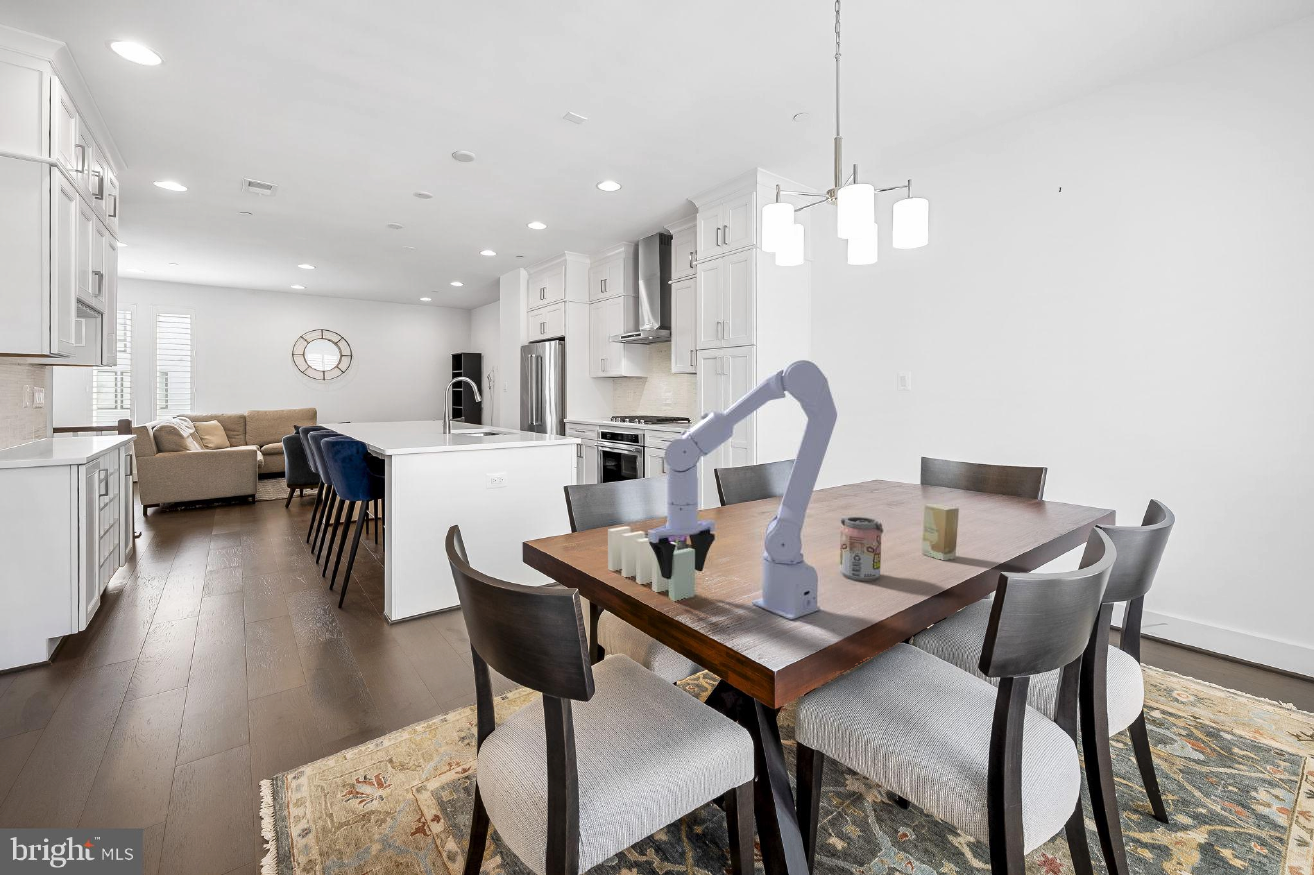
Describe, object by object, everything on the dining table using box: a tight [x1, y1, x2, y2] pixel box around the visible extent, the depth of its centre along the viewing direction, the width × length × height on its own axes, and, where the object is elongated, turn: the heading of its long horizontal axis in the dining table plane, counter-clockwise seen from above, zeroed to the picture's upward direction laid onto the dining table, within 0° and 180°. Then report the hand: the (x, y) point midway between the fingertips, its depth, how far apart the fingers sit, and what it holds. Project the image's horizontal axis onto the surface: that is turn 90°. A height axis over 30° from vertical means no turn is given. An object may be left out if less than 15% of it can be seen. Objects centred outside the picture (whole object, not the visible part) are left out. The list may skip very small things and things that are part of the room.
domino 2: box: [621, 530, 646, 578], centre depth 119 cm, size 2×5×9 cm, turn 126°
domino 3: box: [635, 538, 652, 585], centre depth 114 cm, size 2×5×9 cm, turn 126°
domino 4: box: [651, 542, 677, 593], centre depth 110 cm, size 2×5×9 cm, turn 127°
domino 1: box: [607, 525, 632, 572], centre depth 123 cm, size 2×5×9 cm, turn 127°
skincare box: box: [921, 503, 960, 561], centre depth 132 cm, size 6×4×12 cm
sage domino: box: [668, 547, 696, 603], centre depth 105 cm, size 2×5×9 cm, turn 127°
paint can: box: [839, 516, 884, 582], centre depth 119 cm, size 9×8×12 cm
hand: (682, 573), depth 105 cm, fingers open, 7 cm apart
